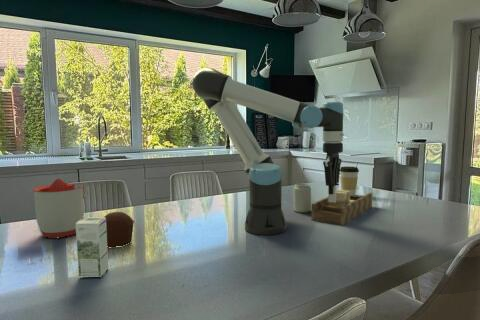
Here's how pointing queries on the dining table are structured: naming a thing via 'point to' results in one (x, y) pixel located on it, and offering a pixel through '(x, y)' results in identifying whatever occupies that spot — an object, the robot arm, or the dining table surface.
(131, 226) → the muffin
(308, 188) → the can
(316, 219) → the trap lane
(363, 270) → the dining table surface
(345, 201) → the maple block
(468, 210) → the dining table surface
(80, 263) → the syrup box
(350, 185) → the coffee cup
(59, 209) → the citrus juicer
